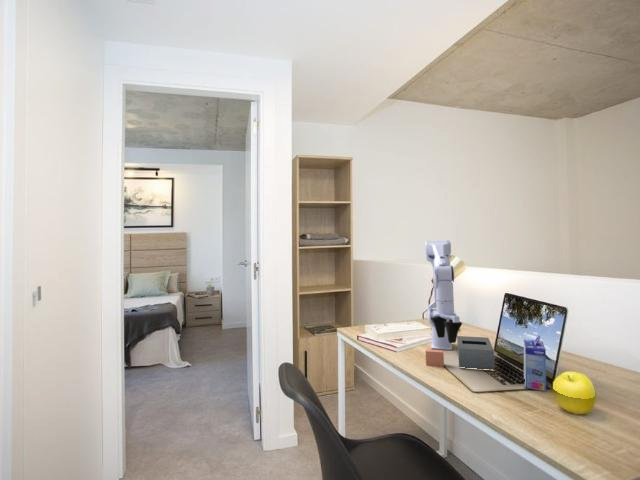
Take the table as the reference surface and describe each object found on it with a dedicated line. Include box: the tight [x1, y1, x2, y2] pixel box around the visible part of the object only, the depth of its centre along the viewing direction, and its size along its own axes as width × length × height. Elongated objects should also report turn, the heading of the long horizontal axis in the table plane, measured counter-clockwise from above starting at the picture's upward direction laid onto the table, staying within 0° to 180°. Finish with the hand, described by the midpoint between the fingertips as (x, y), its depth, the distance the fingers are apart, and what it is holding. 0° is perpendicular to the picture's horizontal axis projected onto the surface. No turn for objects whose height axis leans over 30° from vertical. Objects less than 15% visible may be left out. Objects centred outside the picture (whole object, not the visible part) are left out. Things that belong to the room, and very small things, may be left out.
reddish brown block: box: [425, 348, 445, 368], centre depth 124 cm, size 2×6×5 cm, turn 70°
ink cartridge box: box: [523, 335, 547, 392], centre depth 105 cm, size 10×6×14 cm, turn 152°
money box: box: [456, 335, 496, 370], centre depth 125 cm, size 16×11×7 cm
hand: (446, 339), depth 121 cm, fingers open, 7 cm apart
